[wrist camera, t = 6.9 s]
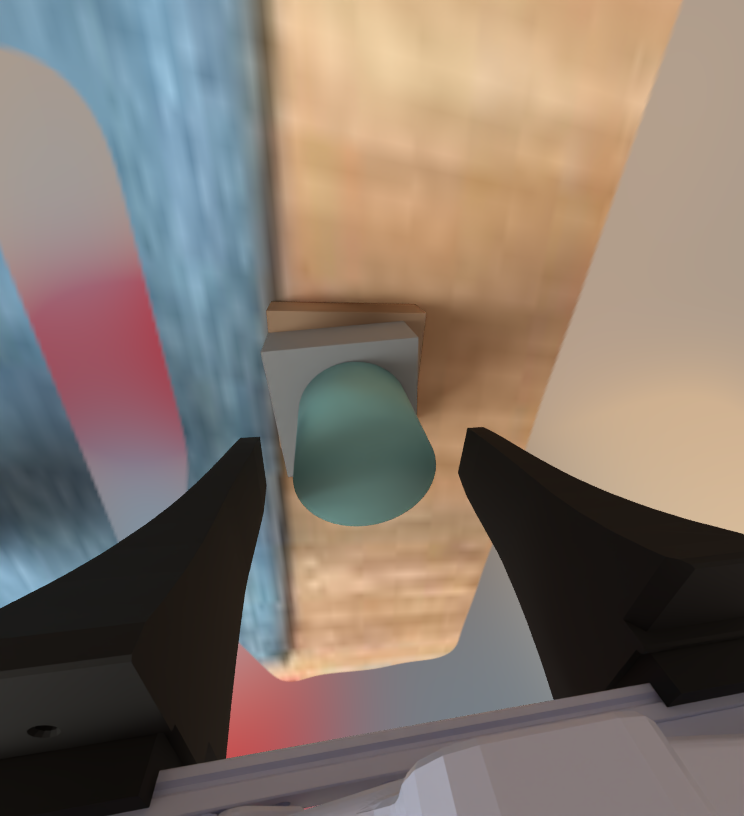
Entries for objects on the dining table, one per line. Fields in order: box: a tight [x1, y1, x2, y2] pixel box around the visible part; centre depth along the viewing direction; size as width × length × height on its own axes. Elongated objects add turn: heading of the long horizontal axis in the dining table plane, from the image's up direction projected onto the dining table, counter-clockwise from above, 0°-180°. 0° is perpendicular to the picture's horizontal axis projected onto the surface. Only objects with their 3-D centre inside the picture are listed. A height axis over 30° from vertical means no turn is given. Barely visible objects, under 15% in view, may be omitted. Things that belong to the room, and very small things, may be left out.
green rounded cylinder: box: [293, 362, 436, 526], centre depth 13 cm, size 5×5×4 cm
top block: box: [261, 321, 418, 477], centre depth 15 cm, size 6×6×2 cm
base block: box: [266, 301, 426, 448], centre depth 17 cm, size 7×7×2 cm
